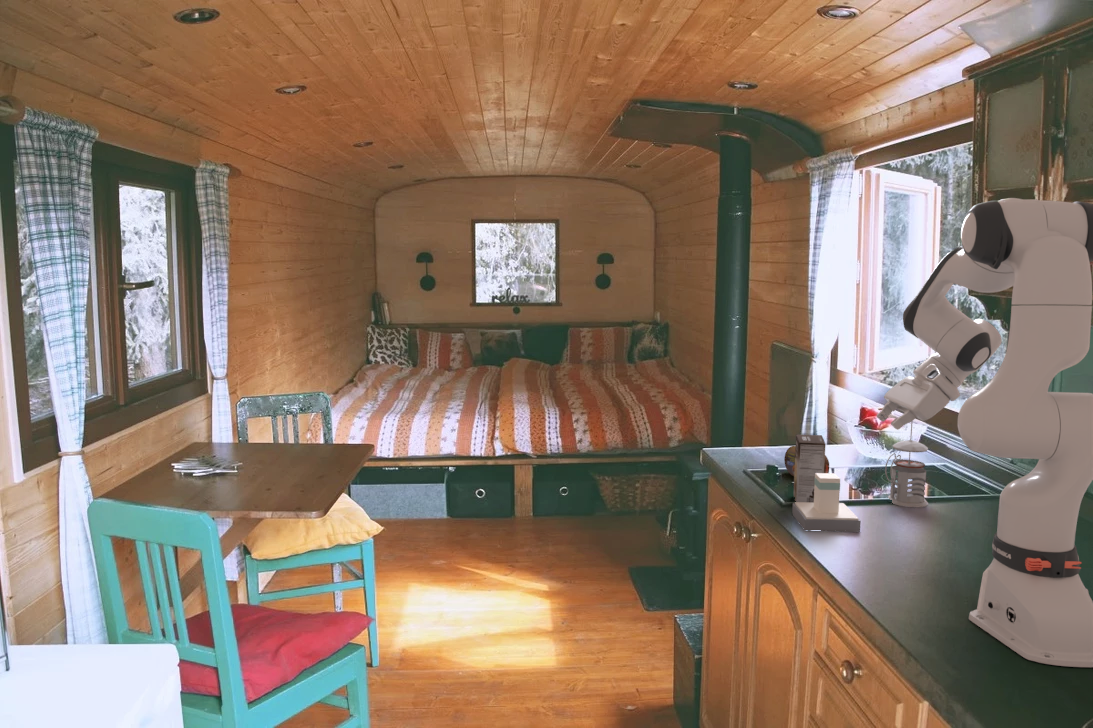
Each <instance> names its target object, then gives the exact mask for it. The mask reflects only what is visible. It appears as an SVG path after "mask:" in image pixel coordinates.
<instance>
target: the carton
mask: <svg viewBox="0 0 1093 728" xmlns="http://www.w3.org/2000/svg"><path fill="white" fill-rule="evenodd" d="M814 484H815V486H814V508H815V509H816V511H817V512H818V513H838V512H839V503H840V491H841V478H840V477H839V476H838V475H837V474H836V473H835V472H834V473H831V472H829V473H815V482H814Z"/></svg>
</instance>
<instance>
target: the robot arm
mask: <svg viewBox="0 0 1093 728" xmlns="http://www.w3.org/2000/svg"><path fill="white" fill-rule="evenodd" d="M963 219H964V220H963V221H962V222H963V223H962V226H961V230H960V239H961V245H962V246H957V247H956V248H953V249H952V250H951V251H949V252H948V253H947V254H946V255H944V256H943V257H942V259H941V260H940V261H939V262H938V263H937V265H936V266H935V268H934V269H933V271H932V272H931V274H930V275H929V277H928V278H927V280H926V281H925V282H924V284H923V285H922V287H921V288H920V290H919V292H918V293H917V295H916V296H914V298H913V299H912V300H911V302H910V303H909V304H908V305H907V307H906V308H905V310H904V311H903V313H902V323H903V324H902V325H903V328H904V330H905V331H907V333H908V334H911V335H912V336H914V337H915V338H916V339H919V340H920V341H922V343H923V344H925V345H926V346H928V347H929V348H930V349H931V350H933V351H934V352H935V353H933V354H931V355H929V356H928V357H927V358H926V359H925V360H924V361H923V362H921V363H920V364H919V365H918V366H917V367H916V368H915V369H913V372H912V373H913V375H914V376H911V375H910V376H909V375H908V376H906V377H904V378H902V379H901V380H899V381H898V382H897V383H896V384H895V385H894V386H892V387H891V388H890V389H888V391H887V392H886V393H885V394H884V396H883V398H884V399H885V401H886V403H885V404H884V405H883V407H882V409H881V410H880V411H879V412H878V413H877V414H876V419H878V420H879V421H881V422H885V421H886V420H888V419H889V417H890V415H891V414H892V412H895V411H896V410H900V411H901V412H903V414H902V415H900V416H899V417H895V418H894V419H893V420H892V421H891V422H890V426H891V427H892V428H894V429H895V430H898V431H899V430H900V429H902V428H903V426H905V425H907V424H909V423H911V422H913V421H914V420H916V419H917V420H920V421H922V422H925V421H927V420H929V419H931V418H933V417H934V416H935V415H936V414H937V413H939V412H940V411H941V410H943V409H944V408H945V407H946V406H948V404H949V403H950V401H951V402H954V401H956V400H957V399H958V398H959V397H960V396H961V394H960V391H959V389H958V388H959V387H960V386H961V385H962V384H963V383H964V381H965V379H966V378H967V377H969V375H972V374H974V373H976V372H977V371H978V370H979V369H981V367H982V366H984V364H986V363H987V361H988V360H989V359H990V358H991V357H993V355H994V354H995V352H997V350H998V349H999V347H1000V346H1001V345H1002V342H1003V340H1002V339H1003V338H1002V336H1001V333H1000V332H999V331H998V329H997V328H996V327H995V326H994V325H993V324H991V323H990V322H989V321H988V320H985V319H982V318H976V319H974V320H973V319H972V318H970V317H969V316H967V315H966V314H965V313H963V312H962V311H960V310H959V309H958V308H957V307H955V306H954V305H953V304H952V303H951V302H950V301H949V300H948V298H947V297H946V295H947V294H948V292H949V291H950V290H951V288H952V287H953V286H954V285H958V286H961V287H963V288H966V289H969V290H971V291H974V292H978V293H986V294H987V293H988V294H989V293H999V292H1002V291H1005V290H1008V289H1010V288H1012V293H1011V306H1010V307H1011V308H1010V310H1011V311H1010V312H1011V313H1010V323H1009V333H1008V342H1007V347H1006V350H1005V351H1006V352H1005V355H1004V358H1003V360H1002V363H1001V365H1000V366H999V368H998V370H997V371H996V373H995V374H994V375H993V377H992V378H991V379H990V380H989V382H987V383H986V384H985V385H984V387H982V388H981V389H979V390H978V391H977V392H975V393H973V394H972V395H970V396H969V397H968V398H967V399H966V400H965V401H964V402H963V404H961V407H960V409H959V412H958V414H957V415H958V416H957V430H958V433H959V437H960V438H961V440H962V442H963V443H964V445H966V447H967V448H968V449H969V450H970V451H972V452H973V453H974V452H975V453H978V454H982V455H987V456H991V457H996V458H1001V459H1027V460H1029V459H1030V460H1031V459H1032V460H1038V461H1037V463H1036V465H1035V467H1034V468H1033V469H1032V470H1031V471H1030V472H1029V473H1027V474H1025V475H1024V476H1022V477H1019V478H1016V479H1013V480H1012V481H1011V482H1009V483H1007V485H1006V486H1005V487H1004V488H1003V489H1002V491H1001V492H1000V495H999V501H998V503H999V504H998V515H997V527H996V528H997V531H996V532H995V533H994V534H993V540H992V543H991V547H992V550H991V551H992V552H991V556H992V557H993V559H992V561H991V563H990V564H989V566H988V567H987V568H985V569H984V571H983V573H982V578H981V581H980V582H981V583H980V588H979V595H978V600H977V607H976V609H974V610H971V611H970V612H969V615H968V620H969V621H971V623H973V624H975V625H976V626H978V628H979V627H980V629H982V630H983V631H984V632H986V633H988V634H989V635H990V636H991V637H993V638H995V639H997V640H998V641H999V642H1001V643H1002V644H1003V645H1005V646H1007V647H1008V648H1010V649H1011V650H1012V651H1014V652H1016V653H1017V654H1018V655H1019V656H1021V657H1023V658H1024V659H1026V660H1028V661H1031V662H1036V663H1039V664H1045V665H1052V666H1061V667H1073V668H1093V600H1092V598H1091V596H1090V594H1089V593H1090V592H1089V589H1088V588H1086V587H1085V585H1084V582H1083V581H1082V579H1081V577H1080V575H1079V573H1080V572H1081V569H1082V567H1080V565H1081V564H1082V561H1080V558H1079V557H1080V556H1079V554H1078V548H1077V546H1076V545H1075V542H1076V531H1077V524H1078V523H1077V522H1078V519H1079V513H1080V512H1079V511H1080V508H1081V503H1082V500H1083V497H1084V495H1085V493H1086V492H1087V490H1088V488H1089V487H1090V485H1091V483H1092V482H1093V393H1091V392H1067V391H1066V392H1064V391H1049V387H1050V385H1051V383H1052V381H1053V380H1054V378H1055V377H1056V376H1057V375H1058V373H1060V372H1062V371H1065V370H1066V369H1068V368H1071V367H1074V366H1076V365H1078V364H1079V363H1080V362H1081V361H1082V360H1083V359H1084V358H1085V357H1086V356H1087V354H1088V353H1089V350H1090V345H1091V343H1090V342H1091V330H1092V329H1091V325H1092V313H1093V312H1092V311H1093V310H1092V309H1093V307H1092V305H1093V282H1092V281H1093V280H1092V272H1091V263H1092V262H1093V203H1090V202H1085V201H1077V200H1076V201H1074V202H1070V201H1060V200H1039V199H1036V198H1034V199H1033V198H1032V199H1022V198H1018V197H1017V198H1016V197H1008V198H1002V199H1000V200H990V201H985V202H984V201H983V202H981V203H980V202H979V203H977V204H975V205H973V206H971V208H970V209H969V210H968V212H967V213H966V214H965V217H964V218H963Z"/></svg>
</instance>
